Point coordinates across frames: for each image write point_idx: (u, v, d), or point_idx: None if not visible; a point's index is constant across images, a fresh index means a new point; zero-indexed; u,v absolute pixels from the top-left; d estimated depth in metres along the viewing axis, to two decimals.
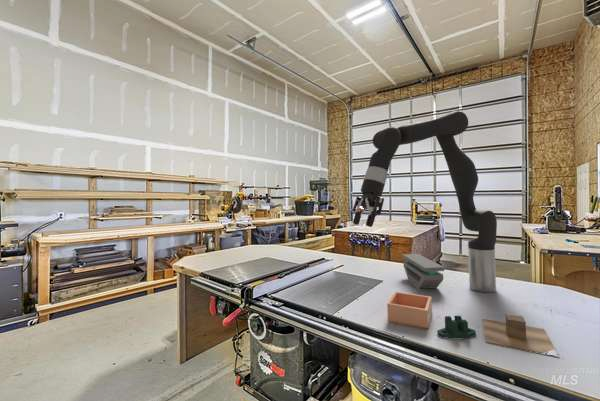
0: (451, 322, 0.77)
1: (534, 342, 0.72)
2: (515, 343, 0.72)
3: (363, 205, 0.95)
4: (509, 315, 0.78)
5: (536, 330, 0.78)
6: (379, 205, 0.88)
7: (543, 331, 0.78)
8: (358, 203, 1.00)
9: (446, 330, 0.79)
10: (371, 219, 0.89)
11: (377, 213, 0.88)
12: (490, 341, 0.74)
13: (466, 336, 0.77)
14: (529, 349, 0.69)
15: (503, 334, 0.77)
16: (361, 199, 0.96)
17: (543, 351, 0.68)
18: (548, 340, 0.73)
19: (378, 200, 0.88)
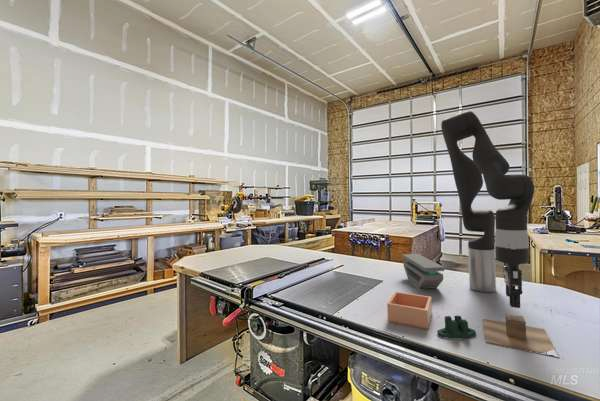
0: (451, 322, 0.77)
1: (534, 342, 0.72)
2: (515, 343, 0.72)
3: None
4: (509, 315, 0.78)
5: (536, 330, 0.78)
6: None
7: (543, 331, 0.78)
8: (516, 280, 0.71)
9: (446, 330, 0.79)
10: None
11: None
12: (490, 341, 0.74)
13: (466, 336, 0.77)
14: (529, 349, 0.69)
15: (503, 334, 0.77)
16: (521, 273, 0.74)
17: (543, 351, 0.68)
18: (548, 340, 0.73)
19: None
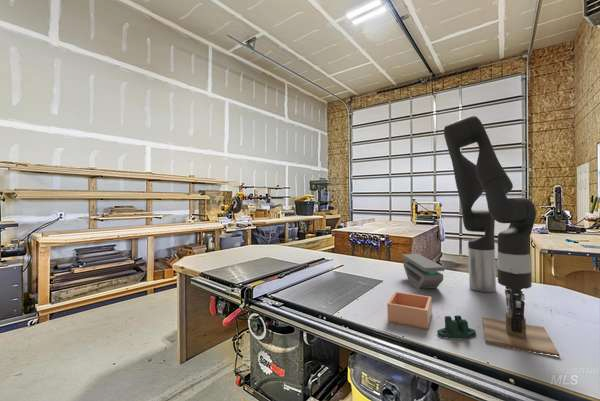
0: (451, 322, 0.77)
1: (534, 340, 0.72)
2: (515, 341, 0.72)
3: None
4: (509, 313, 0.78)
5: (536, 328, 0.78)
6: None
7: (543, 329, 0.77)
8: None
9: (446, 330, 0.79)
10: None
11: None
12: (490, 339, 0.74)
13: (466, 336, 0.77)
14: (529, 347, 0.69)
15: (503, 332, 0.77)
16: None
17: (543, 349, 0.68)
18: (548, 338, 0.73)
19: None
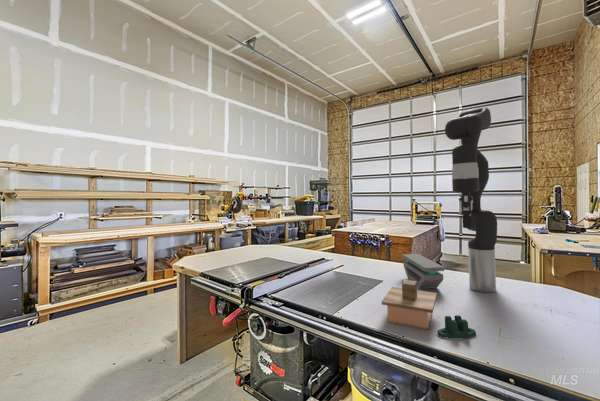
0: (451, 322, 0.77)
1: (420, 301, 0.86)
2: (404, 302, 0.86)
3: None
4: (406, 281, 0.91)
5: (429, 294, 0.92)
6: None
7: (434, 294, 0.91)
8: None
9: (446, 330, 0.79)
10: None
11: None
12: (385, 301, 0.88)
13: (466, 336, 0.77)
14: (412, 306, 0.83)
15: (400, 296, 0.91)
16: (472, 199, 0.87)
17: (422, 307, 0.82)
18: (433, 300, 0.87)
19: None
